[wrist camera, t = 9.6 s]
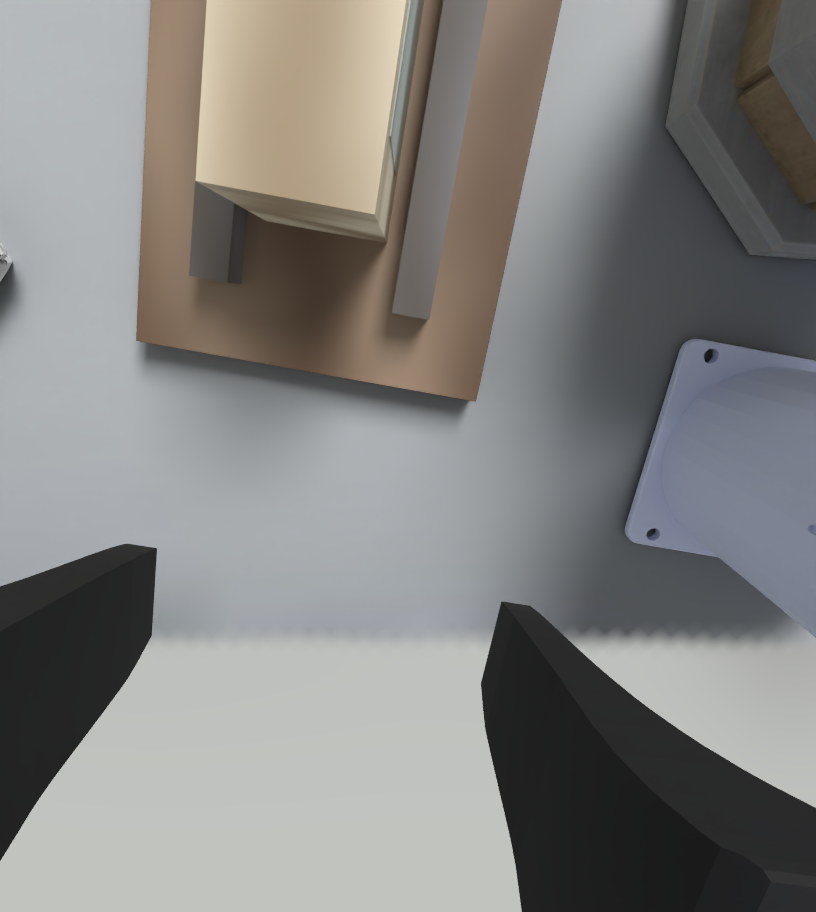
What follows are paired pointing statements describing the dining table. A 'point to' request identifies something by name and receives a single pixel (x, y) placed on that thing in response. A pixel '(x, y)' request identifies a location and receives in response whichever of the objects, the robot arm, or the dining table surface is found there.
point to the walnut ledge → (342, 257)
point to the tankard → (752, 117)
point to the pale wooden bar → (307, 109)
